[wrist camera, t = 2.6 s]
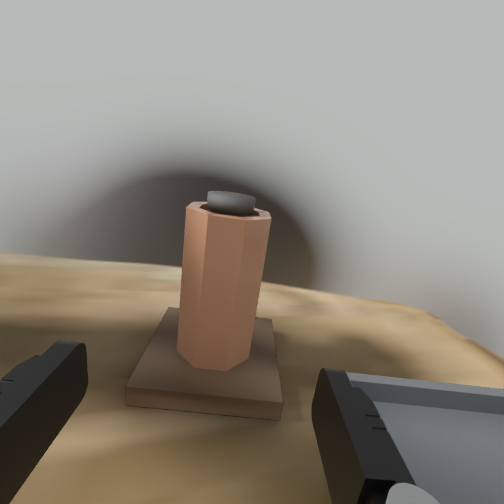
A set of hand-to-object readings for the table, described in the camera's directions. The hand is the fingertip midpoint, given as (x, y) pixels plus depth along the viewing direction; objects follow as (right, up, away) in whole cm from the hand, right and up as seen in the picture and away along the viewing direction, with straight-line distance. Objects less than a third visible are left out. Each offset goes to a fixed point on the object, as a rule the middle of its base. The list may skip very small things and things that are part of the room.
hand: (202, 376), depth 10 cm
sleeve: (-1, -3, +13) cm, 13 cm away
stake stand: (-1, -5, +13) cm, 14 cm away
